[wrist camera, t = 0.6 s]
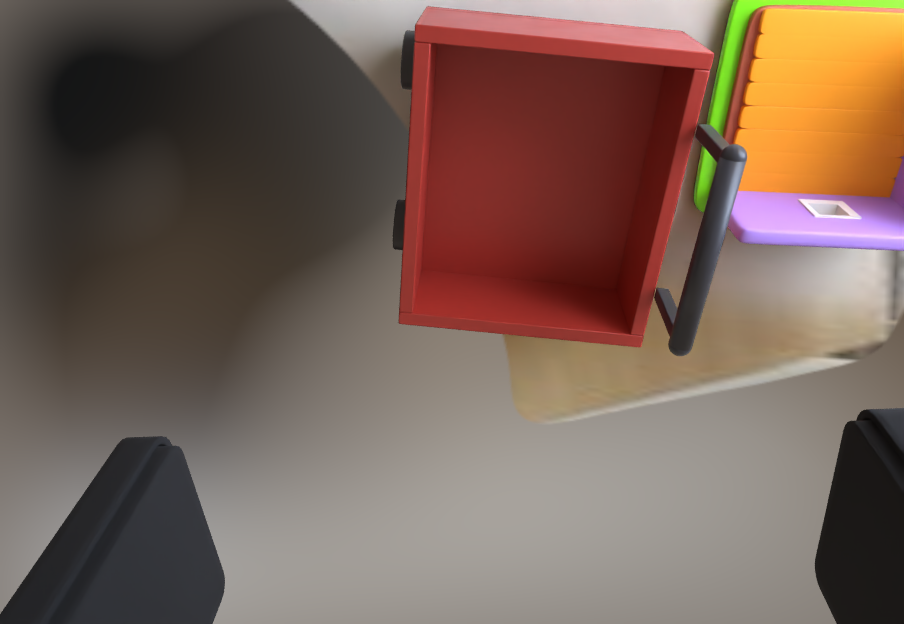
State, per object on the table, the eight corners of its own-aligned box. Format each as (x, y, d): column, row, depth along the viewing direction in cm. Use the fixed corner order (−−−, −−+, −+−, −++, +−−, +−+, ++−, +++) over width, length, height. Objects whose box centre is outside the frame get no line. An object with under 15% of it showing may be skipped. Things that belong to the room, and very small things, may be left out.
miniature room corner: (901, 221, 41) (970, 275, 35) (687, 211, 42) (719, 263, 36) (983, -10, 35) (1083, 8, 29) (733, -19, 36) (781, -2, 30)
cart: (409, -1, 37) (374, 41, 26) (694, 26, 37) (780, 81, 26) (396, 256, 44) (364, 377, 33) (634, 280, 44) (682, 408, 33)
